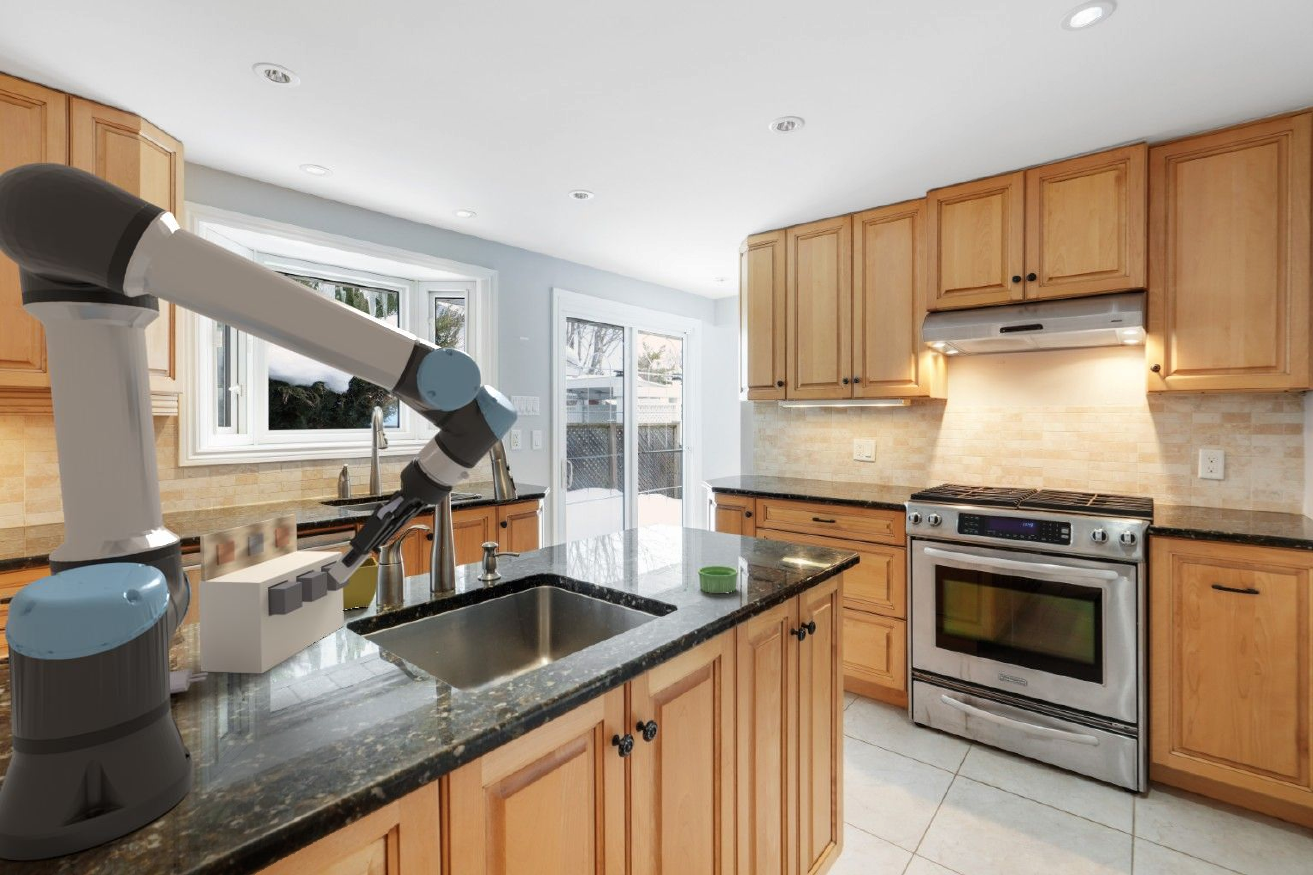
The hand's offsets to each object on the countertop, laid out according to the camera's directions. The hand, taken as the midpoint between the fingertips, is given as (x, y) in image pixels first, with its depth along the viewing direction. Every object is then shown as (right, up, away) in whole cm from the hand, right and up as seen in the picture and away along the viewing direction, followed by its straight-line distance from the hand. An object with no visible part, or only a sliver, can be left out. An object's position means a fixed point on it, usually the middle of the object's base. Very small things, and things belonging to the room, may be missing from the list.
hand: (336, 576), depth 97 cm
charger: (-20, -15, -13) cm, 28 cm away
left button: (-9, -5, 0) cm, 10 cm away
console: (-14, -14, +8) cm, 21 cm away
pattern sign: (-18, 0, +8) cm, 19 cm away
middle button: (-8, -5, +7) cm, 12 cm away
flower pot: (-12, -13, +30) cm, 35 cm away
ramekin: (+64, -13, +42) cm, 78 cm away
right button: (-7, -5, +13) cm, 16 cm away
